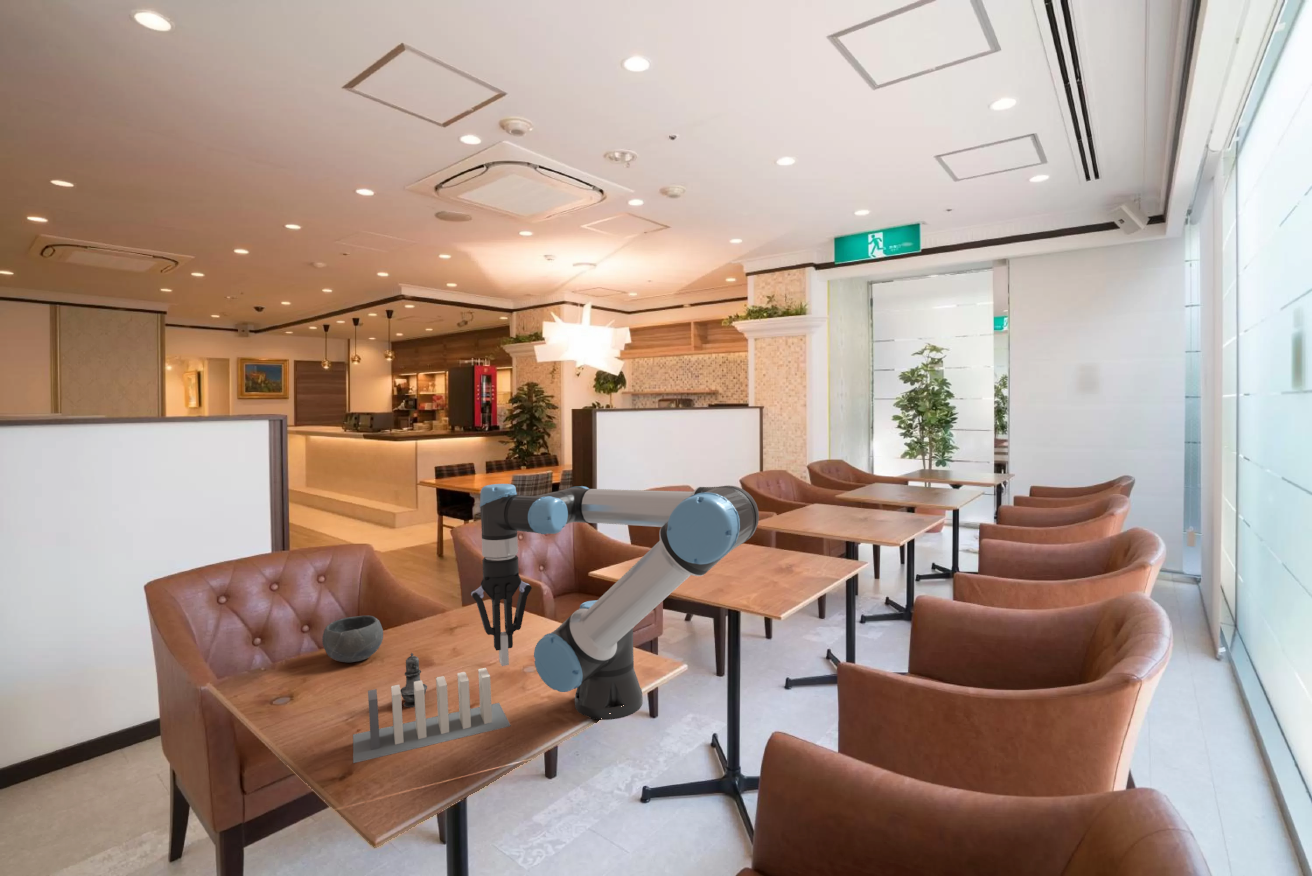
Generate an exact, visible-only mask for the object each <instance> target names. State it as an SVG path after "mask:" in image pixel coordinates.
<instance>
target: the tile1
mask: <svg viewBox="0 0 1312 876" xmlns="http://www.w3.org/2000/svg"><path fill="white" fill-rule="evenodd" d="M477 671H478V695H479V696H478V697H479V707H480V715H481V717H482V719H483V722H484V724H487V723H491V722H492V707H491V704H492V690H491V689H492V687H491V685H492V684H491V675H490V673H489V671H488V670H487V667H484V668H478V669H477Z"/></svg>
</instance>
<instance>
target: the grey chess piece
mask: <svg viewBox="0 0 1312 876" xmlns="http://www.w3.org/2000/svg"><path fill="white" fill-rule="evenodd" d="M409 655H410V656H408V657H407V658H406V659H405V672H404V676H405V680H406V681H405V682H406V683H405V686H403V687H402V688H400V690H401V698H402V700H403V701H405V702H403V706H404V707H406V708H415V697H414V682H415V681H420V680H421V673H422V670H421V669H420V661H419V660H420V659H419V657H418V656H415V655H414V653H413V652H411V653H410V654H409ZM423 686H424V694H425V695H426V692H427V689H428V685H427V684H425V683H423Z"/></svg>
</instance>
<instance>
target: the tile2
mask: <svg viewBox="0 0 1312 876" xmlns="http://www.w3.org/2000/svg"><path fill="white" fill-rule="evenodd" d="M457 692H458V693H457V694H458V710H459V711H458V712H459V718H460V722H461V724H462V727H463V729H465V728H470V727H471V716H470V709H471V698H470V697H471V696H470V679H469V677H468V675H467V673H466V671H462V672H457Z"/></svg>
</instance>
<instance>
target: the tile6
mask: <svg viewBox="0 0 1312 876" xmlns="http://www.w3.org/2000/svg"><path fill="white" fill-rule="evenodd" d="M367 699H368V717H369V731H370V739H371V750H374V749H378V748H380V739H379V729H380V724H379V705H378V704H379V703H378V692H377V688H374V689H369V690H367Z"/></svg>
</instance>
